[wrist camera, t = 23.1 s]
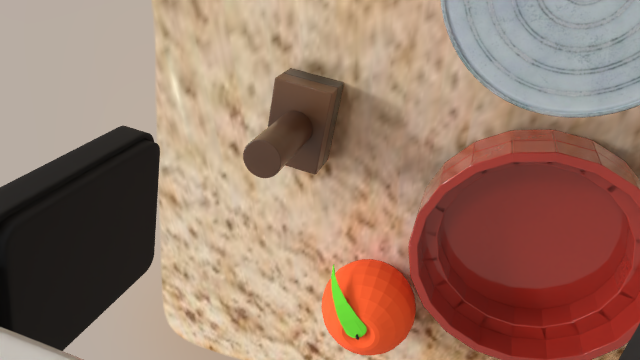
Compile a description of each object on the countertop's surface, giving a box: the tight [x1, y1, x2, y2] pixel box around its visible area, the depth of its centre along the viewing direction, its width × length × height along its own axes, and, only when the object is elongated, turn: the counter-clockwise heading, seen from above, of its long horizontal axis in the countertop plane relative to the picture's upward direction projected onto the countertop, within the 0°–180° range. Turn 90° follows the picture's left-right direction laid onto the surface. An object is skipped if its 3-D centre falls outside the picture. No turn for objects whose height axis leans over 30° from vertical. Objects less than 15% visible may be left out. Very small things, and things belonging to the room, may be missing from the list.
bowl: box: [408, 130, 640, 360], centre depth 37 cm, size 15×15×5 cm
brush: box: [243, 68, 344, 178], centre depth 37 cm, size 6×4×9 cm, turn 169°
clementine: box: [322, 259, 416, 355], centre depth 41 cm, size 8×7×7 cm
